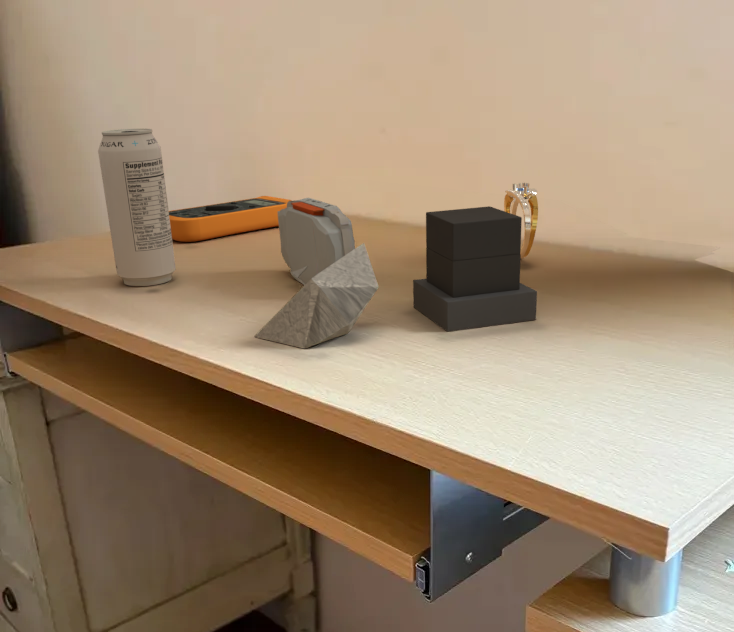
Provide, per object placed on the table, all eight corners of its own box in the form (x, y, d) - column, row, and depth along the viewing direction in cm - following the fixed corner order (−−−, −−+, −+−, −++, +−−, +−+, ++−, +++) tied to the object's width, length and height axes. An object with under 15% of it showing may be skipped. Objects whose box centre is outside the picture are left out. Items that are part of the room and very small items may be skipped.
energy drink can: (156, 270, 91) (136, 127, 85) (188, 278, 87) (170, 129, 81) (107, 282, 87) (83, 132, 81) (138, 290, 83) (116, 134, 77)
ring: (497, 252, 93) (498, 179, 90) (525, 251, 93) (527, 178, 90) (512, 266, 87) (514, 188, 84) (542, 265, 87) (545, 187, 84)
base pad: (494, 297, 76) (495, 270, 75) (536, 320, 69) (537, 290, 68) (413, 307, 74) (412, 279, 73) (447, 331, 67) (447, 302, 66)
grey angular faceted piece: (271, 348, 61) (217, 292, 67) (306, 396, 66) (253, 340, 72) (393, 246, 62) (330, 200, 68) (420, 301, 67) (358, 254, 73)
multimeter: (152, 237, 109) (148, 210, 108) (266, 217, 120) (264, 193, 119) (183, 245, 103) (180, 218, 102) (300, 224, 114) (299, 199, 112)
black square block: (489, 273, 74) (489, 240, 73) (519, 289, 69) (520, 253, 68) (426, 281, 73) (425, 247, 71) (452, 297, 67) (452, 261, 66)
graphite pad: (489, 240, 73) (490, 206, 72) (520, 253, 68) (522, 216, 67) (425, 247, 71) (425, 212, 70) (452, 261, 66) (452, 223, 65)
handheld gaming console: (361, 296, 78) (357, 210, 75) (333, 301, 77) (328, 214, 74) (301, 267, 90) (296, 192, 87) (276, 271, 89) (270, 195, 86)
